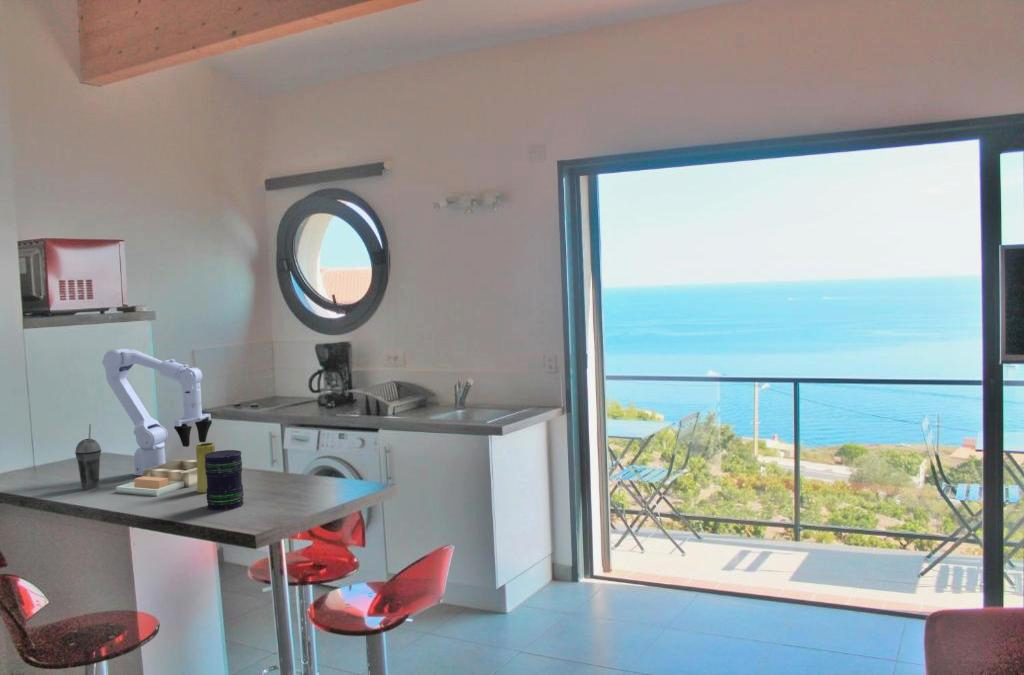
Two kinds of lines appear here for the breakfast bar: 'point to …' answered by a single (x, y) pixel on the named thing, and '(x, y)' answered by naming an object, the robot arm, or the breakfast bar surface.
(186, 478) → the block
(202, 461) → the vase
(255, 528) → the breakfast bar surface
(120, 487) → the tray
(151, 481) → the slab
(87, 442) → the beverage cup
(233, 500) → the storage jar
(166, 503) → the breakfast bar surface
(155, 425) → the robot arm
